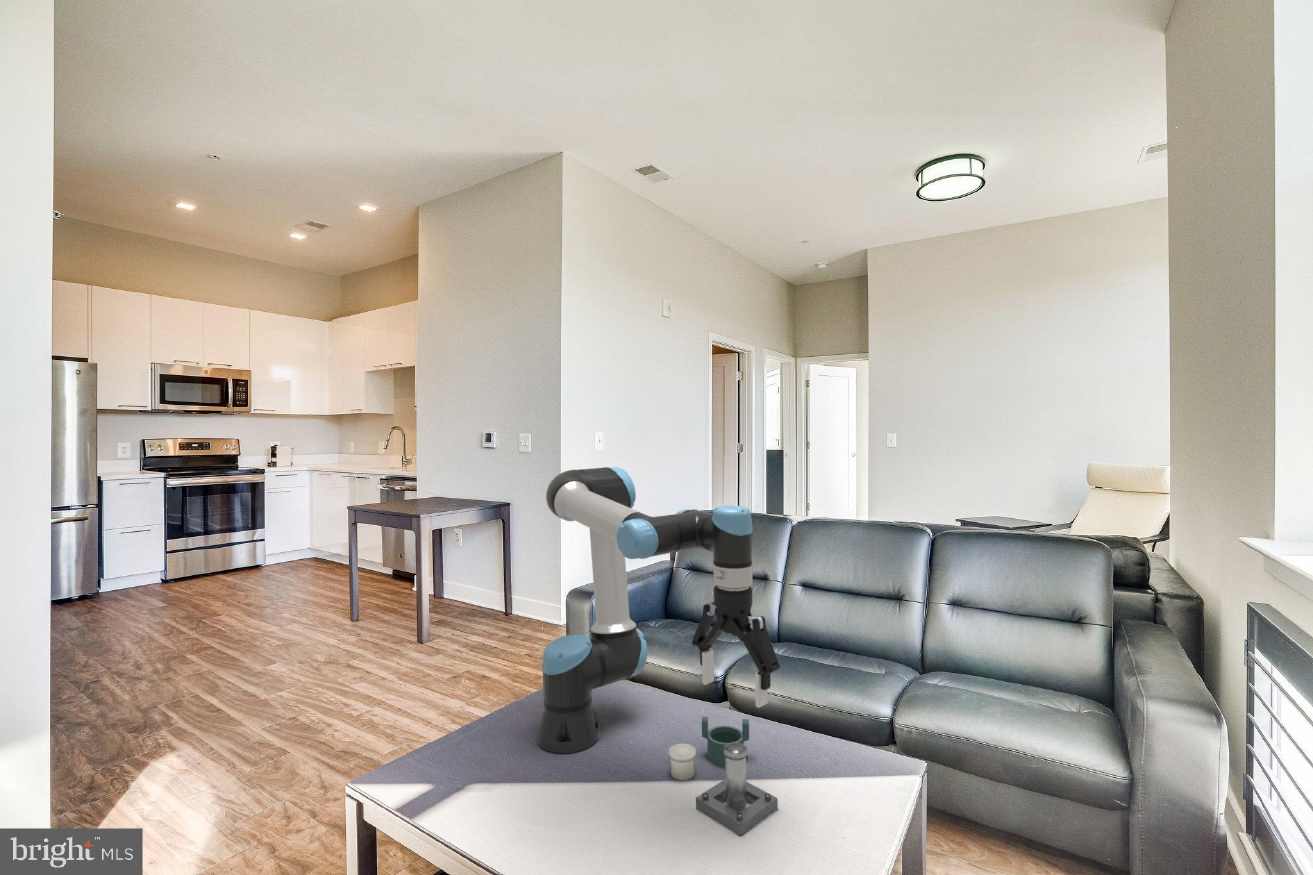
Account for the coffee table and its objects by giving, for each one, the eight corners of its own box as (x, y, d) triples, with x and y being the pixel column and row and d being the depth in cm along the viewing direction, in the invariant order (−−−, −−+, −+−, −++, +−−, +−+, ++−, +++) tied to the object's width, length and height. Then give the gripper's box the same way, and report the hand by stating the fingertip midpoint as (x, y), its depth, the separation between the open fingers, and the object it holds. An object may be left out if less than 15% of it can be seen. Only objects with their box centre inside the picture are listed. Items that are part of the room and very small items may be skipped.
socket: (696, 808, 121) (695, 794, 121) (733, 784, 128) (733, 771, 128) (740, 836, 112) (740, 821, 112) (777, 809, 120) (777, 795, 120)
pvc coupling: (663, 773, 133) (663, 750, 133) (682, 762, 137) (682, 740, 137) (682, 784, 129) (682, 761, 128) (701, 773, 133) (701, 750, 132)
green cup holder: (753, 759, 138) (752, 720, 138) (720, 771, 133) (719, 731, 133) (729, 742, 145) (728, 704, 145) (696, 753, 141) (696, 714, 141)
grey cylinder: (719, 808, 120) (718, 748, 120) (734, 798, 124) (734, 739, 123) (737, 819, 117) (737, 757, 117) (752, 808, 120) (752, 748, 120)
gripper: (674, 577, 126) (675, 679, 127) (773, 603, 108) (774, 722, 108) (699, 571, 131) (700, 668, 132) (798, 594, 113) (798, 708, 113)
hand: (733, 693), depth 120 cm, fingers open, 13 cm apart
